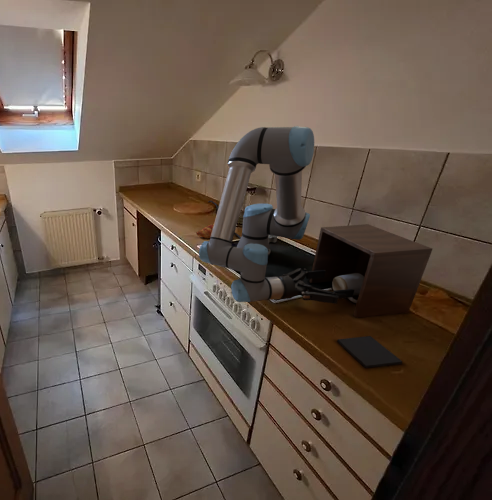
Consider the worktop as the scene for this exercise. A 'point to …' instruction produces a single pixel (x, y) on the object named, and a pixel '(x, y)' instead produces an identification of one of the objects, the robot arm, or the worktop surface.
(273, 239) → the egg carton
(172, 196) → the worktop surface
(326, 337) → the worktop surface
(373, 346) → the mat
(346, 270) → the cupboard
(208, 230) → the croissant
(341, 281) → the ceramic mug
